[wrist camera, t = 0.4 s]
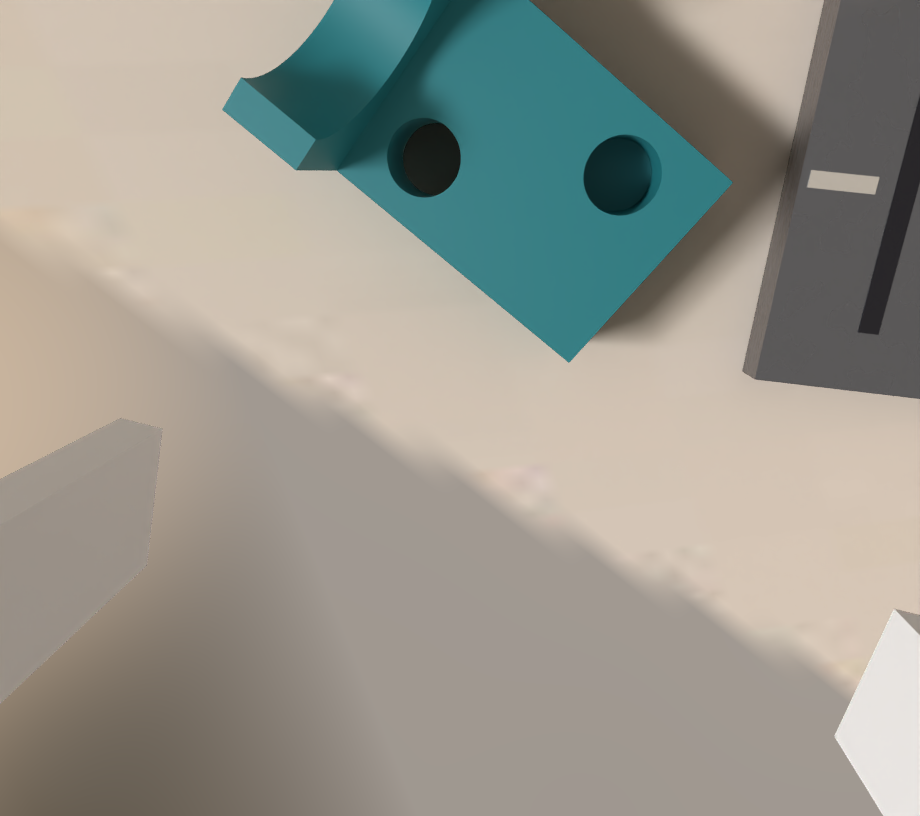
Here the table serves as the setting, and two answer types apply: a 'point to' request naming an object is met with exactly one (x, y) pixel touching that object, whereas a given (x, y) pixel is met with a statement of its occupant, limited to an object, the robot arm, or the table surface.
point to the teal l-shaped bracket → (492, 150)
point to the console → (849, 214)
